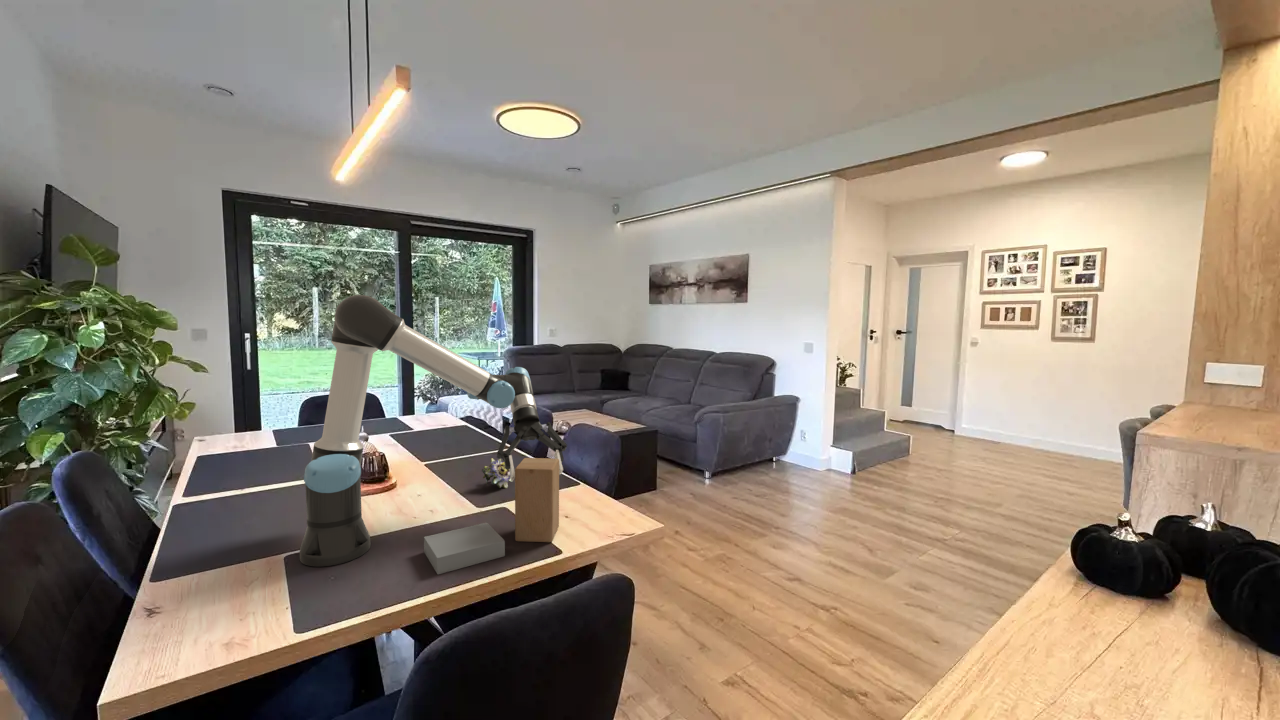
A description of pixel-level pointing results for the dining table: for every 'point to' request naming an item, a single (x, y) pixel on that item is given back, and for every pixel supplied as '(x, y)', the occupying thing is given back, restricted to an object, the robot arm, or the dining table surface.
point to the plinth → (463, 547)
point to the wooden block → (536, 499)
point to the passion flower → (497, 473)
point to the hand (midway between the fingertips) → (537, 475)
